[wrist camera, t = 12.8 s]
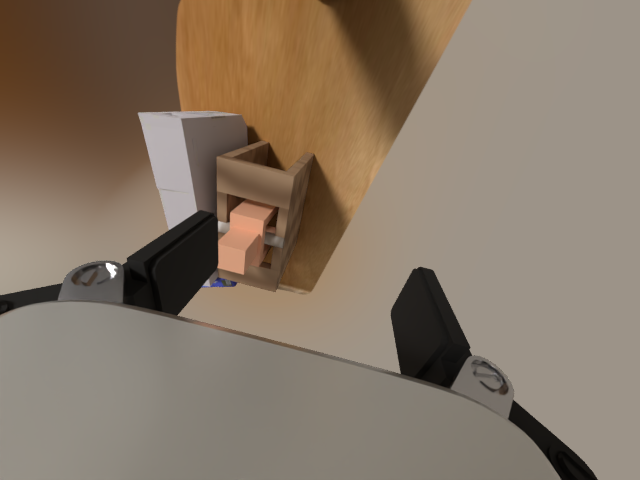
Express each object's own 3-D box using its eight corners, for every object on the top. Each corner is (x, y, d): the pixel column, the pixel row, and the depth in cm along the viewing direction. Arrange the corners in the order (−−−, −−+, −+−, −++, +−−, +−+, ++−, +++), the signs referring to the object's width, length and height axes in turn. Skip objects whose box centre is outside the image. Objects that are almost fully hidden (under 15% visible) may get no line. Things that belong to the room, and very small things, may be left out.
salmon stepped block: (258, 189, 43) (211, 227, 29) (284, 195, 43) (250, 237, 29) (255, 228, 47) (212, 278, 33) (278, 234, 47) (246, 287, 33)
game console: (230, 231, 59) (179, 281, 42) (218, 110, 46) (135, 112, 28) (252, 235, 59) (210, 287, 42) (246, 114, 45) (180, 118, 28)
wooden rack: (261, 140, 47) (213, 157, 31) (314, 154, 47) (292, 178, 31) (254, 232, 58) (215, 279, 42) (296, 243, 58) (274, 294, 42)
